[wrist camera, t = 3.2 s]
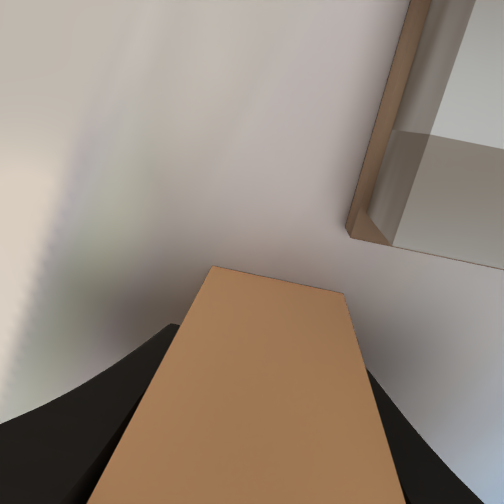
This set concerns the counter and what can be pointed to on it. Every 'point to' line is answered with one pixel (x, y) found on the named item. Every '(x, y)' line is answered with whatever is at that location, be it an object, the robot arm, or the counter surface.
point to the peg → (256, 406)
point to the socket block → (439, 138)
